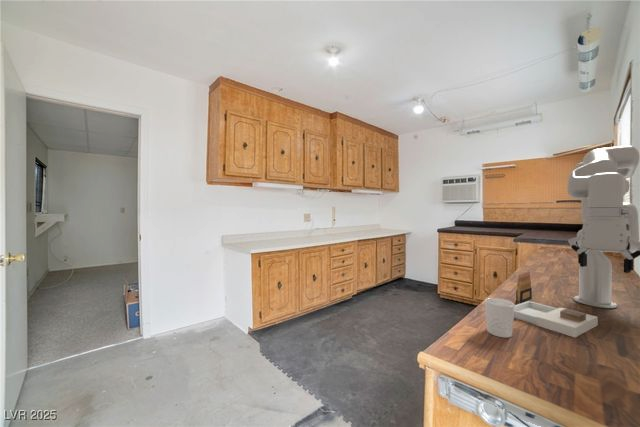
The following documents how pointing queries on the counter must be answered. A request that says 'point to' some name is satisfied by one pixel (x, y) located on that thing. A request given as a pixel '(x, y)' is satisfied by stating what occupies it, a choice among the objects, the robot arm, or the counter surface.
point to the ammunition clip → (523, 288)
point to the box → (530, 311)
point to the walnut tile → (573, 315)
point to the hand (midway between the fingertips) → (604, 269)
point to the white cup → (499, 316)
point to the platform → (566, 323)
